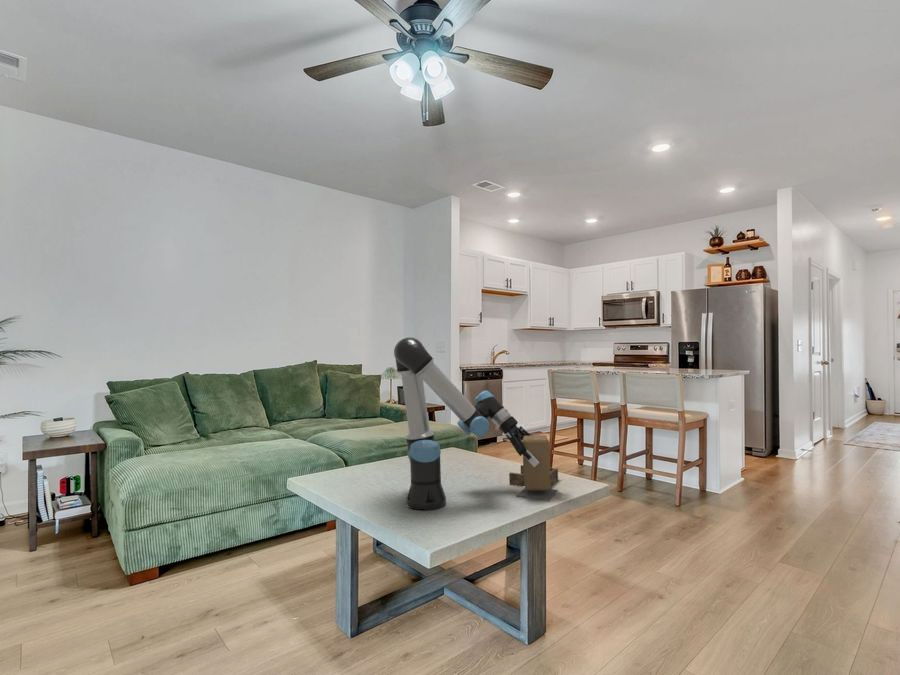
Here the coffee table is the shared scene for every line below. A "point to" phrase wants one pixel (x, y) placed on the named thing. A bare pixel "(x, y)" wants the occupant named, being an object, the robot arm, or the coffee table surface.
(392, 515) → the coffee table surface
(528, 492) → the pad
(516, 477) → the wooden u-shaped frame
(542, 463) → the wooden block
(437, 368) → the robot arm
